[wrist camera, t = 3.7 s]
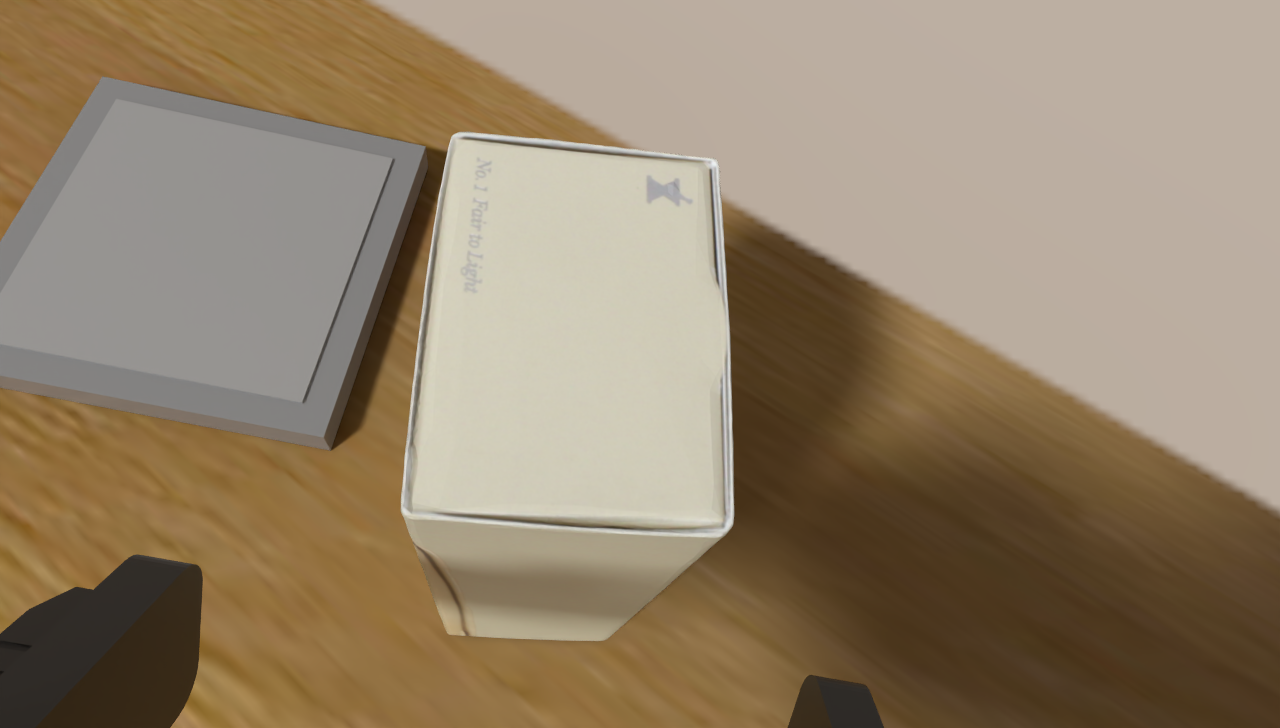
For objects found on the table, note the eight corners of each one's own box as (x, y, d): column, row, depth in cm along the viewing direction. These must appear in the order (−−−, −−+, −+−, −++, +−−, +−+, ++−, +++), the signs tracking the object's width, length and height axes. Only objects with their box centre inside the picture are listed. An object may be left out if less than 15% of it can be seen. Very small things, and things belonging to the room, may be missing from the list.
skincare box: (469, 414, 23) (440, 112, 12) (624, 424, 24) (724, 144, 13) (444, 647, 20) (377, 517, 10) (619, 651, 21) (742, 536, 10)
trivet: (428, 166, 27) (425, 144, 26) (330, 450, 22) (322, 436, 21) (116, 99, 26) (101, 74, 25) (-50, 378, 22) (-76, 359, 21)
